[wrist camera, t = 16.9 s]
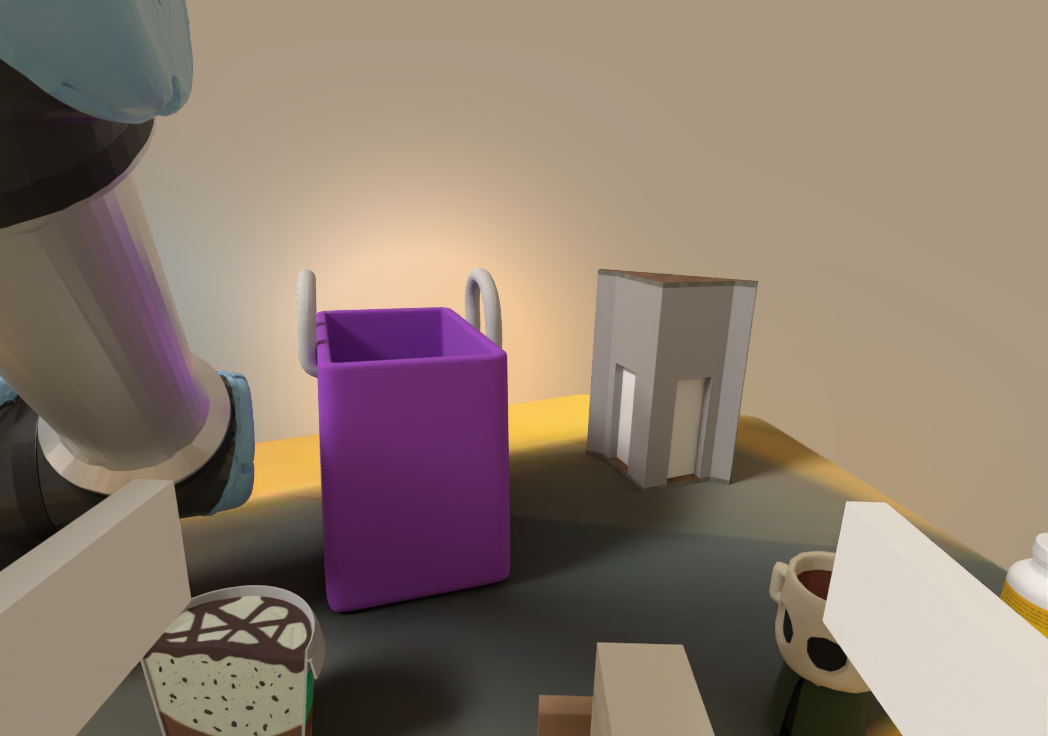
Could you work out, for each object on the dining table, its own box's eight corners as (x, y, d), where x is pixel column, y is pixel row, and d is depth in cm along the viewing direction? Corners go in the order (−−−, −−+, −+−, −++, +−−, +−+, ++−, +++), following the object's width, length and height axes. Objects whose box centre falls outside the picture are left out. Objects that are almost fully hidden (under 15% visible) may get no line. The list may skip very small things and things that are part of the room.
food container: (359, 701, 44) (353, 587, 41) (325, 777, 38) (314, 651, 35) (205, 685, 45) (188, 573, 42) (148, 757, 39) (125, 633, 36)
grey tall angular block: (730, 480, 82) (757, 281, 74) (720, 510, 73) (750, 289, 66) (589, 450, 90) (601, 269, 83) (567, 474, 82) (577, 275, 74)
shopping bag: (282, 501, 73) (260, 258, 64) (444, 465, 84) (442, 254, 75) (340, 644, 50) (316, 295, 41) (552, 570, 61) (566, 282, 52)
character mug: (721, 693, 46) (743, 548, 42) (787, 666, 49) (813, 528, 45) (846, 823, 36) (887, 651, 33) (918, 780, 39) (964, 618, 36)
